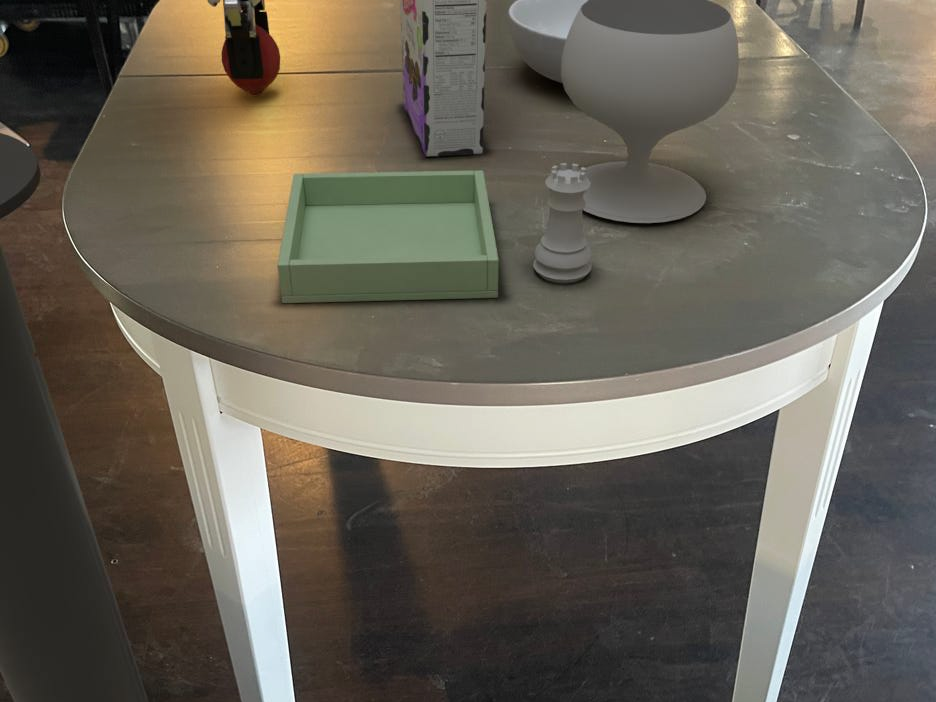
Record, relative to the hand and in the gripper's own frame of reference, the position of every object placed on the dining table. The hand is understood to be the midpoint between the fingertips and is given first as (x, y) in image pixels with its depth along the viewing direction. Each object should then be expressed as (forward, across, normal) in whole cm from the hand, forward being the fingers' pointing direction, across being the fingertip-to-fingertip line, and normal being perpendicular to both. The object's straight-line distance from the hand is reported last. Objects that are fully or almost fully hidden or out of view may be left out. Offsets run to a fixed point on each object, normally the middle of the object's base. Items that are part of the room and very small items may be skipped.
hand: (251, 63), depth 103 cm
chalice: (+3, +26, +35) cm, 44 cm away
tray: (+3, +35, +14) cm, 38 cm away
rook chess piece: (+3, +39, +27) cm, 48 cm away
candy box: (+3, +10, +19) cm, 22 cm away
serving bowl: (+3, -4, +37) cm, 37 cm away
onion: (+3, 0, 0) cm, 3 cm away
